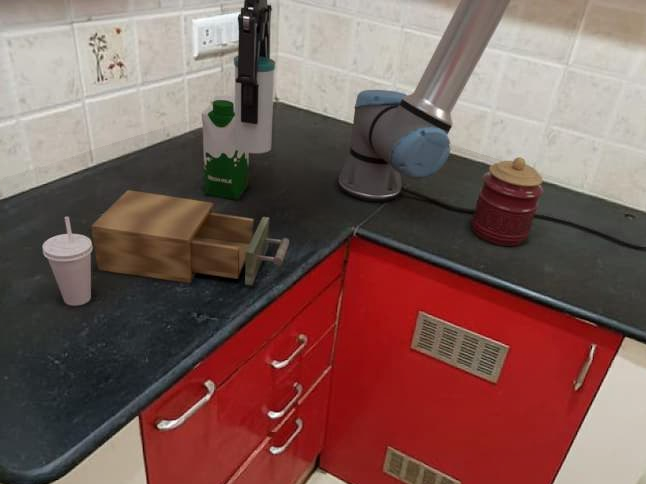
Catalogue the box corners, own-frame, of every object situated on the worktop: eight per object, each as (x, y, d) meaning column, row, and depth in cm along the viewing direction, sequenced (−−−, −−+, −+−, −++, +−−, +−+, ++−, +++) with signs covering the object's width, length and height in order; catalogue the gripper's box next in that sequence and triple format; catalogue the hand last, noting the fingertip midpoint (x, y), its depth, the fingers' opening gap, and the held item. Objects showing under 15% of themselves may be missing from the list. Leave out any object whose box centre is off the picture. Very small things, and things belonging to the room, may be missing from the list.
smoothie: (98, 309, 84) (84, 228, 76) (50, 312, 82) (31, 229, 74) (102, 285, 89) (90, 206, 81) (57, 287, 87) (40, 206, 79)
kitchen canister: (479, 213, 132) (499, 141, 122) (532, 230, 128) (557, 158, 118) (462, 234, 121) (482, 157, 112) (519, 253, 118) (545, 176, 108)
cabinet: (214, 242, 104) (213, 202, 99) (190, 283, 92) (188, 240, 88) (132, 230, 103) (127, 189, 99) (97, 269, 92) (90, 225, 87)
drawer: (291, 251, 104) (293, 221, 100) (278, 289, 93) (279, 257, 89) (192, 236, 103) (190, 205, 99) (167, 273, 92) (165, 239, 89)
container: (275, 142, 103) (278, 58, 95) (268, 156, 98) (271, 67, 89) (239, 137, 103) (239, 52, 95) (229, 150, 97) (229, 61, 89)
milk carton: (200, 196, 119) (196, 102, 108) (214, 179, 126) (212, 90, 115) (240, 203, 119) (241, 110, 107) (252, 186, 126) (254, 97, 115)
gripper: (246, -42, 92) (245, 97, 105) (214, -33, 76) (217, 130, 89) (291, -35, 93) (284, 103, 105) (268, -24, 76) (264, 137, 89)
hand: (253, 115), depth 97 cm, fingers closed on container, 6 cm apart
